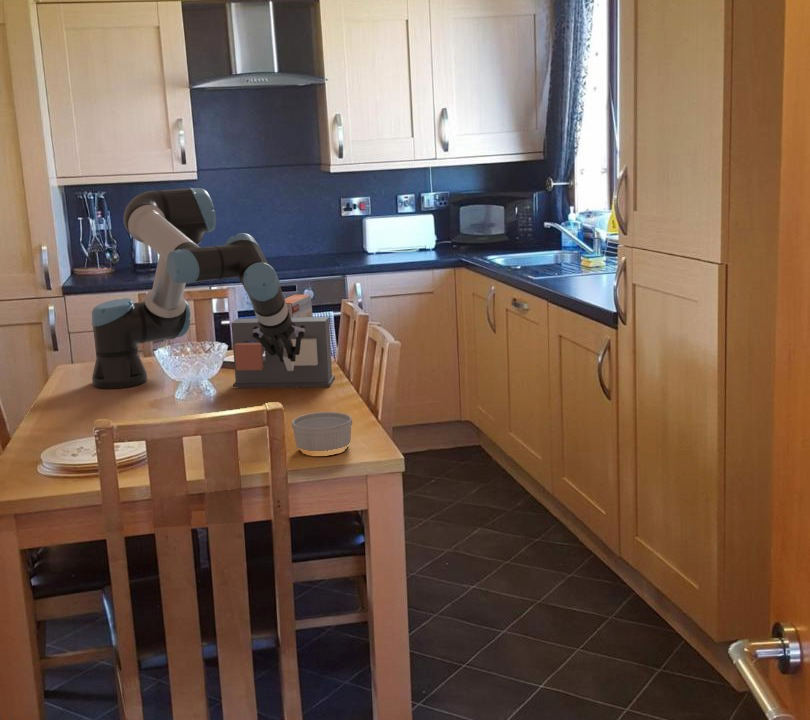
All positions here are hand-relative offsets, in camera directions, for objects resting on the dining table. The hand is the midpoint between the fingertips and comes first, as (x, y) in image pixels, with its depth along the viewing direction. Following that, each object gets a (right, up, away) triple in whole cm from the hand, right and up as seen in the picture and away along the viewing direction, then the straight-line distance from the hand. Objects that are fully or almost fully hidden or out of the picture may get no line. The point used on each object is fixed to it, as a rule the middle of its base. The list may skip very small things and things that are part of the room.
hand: (290, 366), depth 255 cm
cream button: (+2, +1, +22) cm, 22 cm away
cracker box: (-3, -1, +43) cm, 43 cm away
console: (-5, -5, +25) cm, 26 cm away
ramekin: (+11, -18, -34) cm, 40 cm away
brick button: (-12, 0, +19) cm, 23 cm away
